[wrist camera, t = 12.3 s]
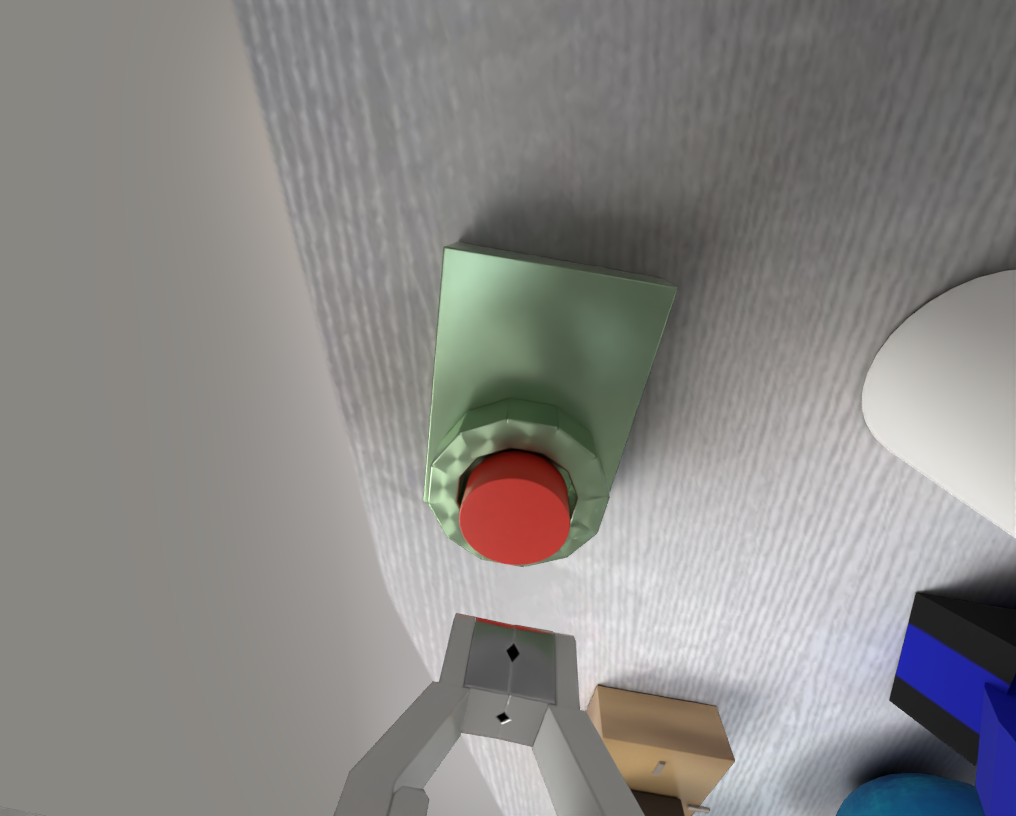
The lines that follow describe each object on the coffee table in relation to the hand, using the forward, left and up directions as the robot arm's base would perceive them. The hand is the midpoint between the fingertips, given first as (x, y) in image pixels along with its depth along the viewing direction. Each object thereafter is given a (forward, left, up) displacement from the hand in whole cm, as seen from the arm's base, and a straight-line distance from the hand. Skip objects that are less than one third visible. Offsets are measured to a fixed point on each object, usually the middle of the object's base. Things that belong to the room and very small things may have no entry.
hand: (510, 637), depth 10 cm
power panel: (+24, +12, -10) cm, 28 cm away
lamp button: (+1, 0, -6) cm, 6 cm away
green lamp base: (-2, 0, -10) cm, 10 cm away
